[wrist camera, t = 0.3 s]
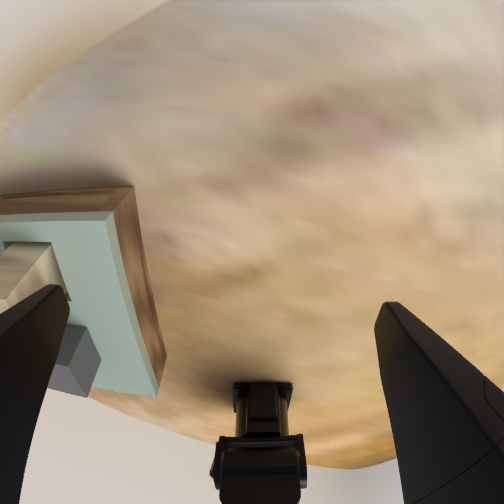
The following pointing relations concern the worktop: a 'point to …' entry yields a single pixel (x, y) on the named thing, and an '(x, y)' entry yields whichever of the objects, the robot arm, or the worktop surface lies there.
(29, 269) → the beige rectangular block
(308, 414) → the worktop surface
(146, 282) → the toolbox base
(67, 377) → the toolbox lid
